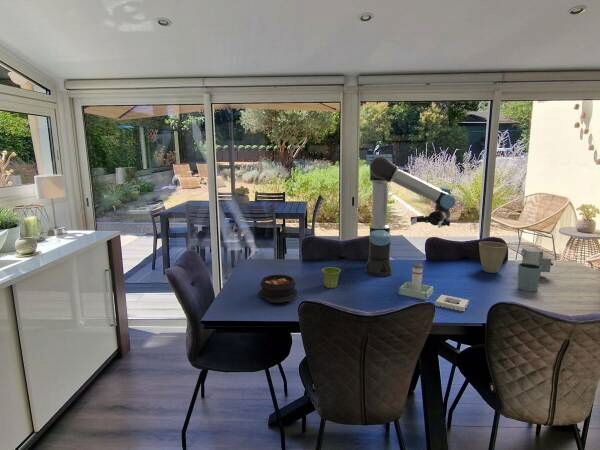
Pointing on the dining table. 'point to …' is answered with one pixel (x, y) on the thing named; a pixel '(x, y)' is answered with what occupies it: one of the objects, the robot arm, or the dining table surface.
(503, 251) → the plant pot
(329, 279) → the plant pot
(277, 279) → the casserole
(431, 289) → the parts tray
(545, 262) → the circuit breaker
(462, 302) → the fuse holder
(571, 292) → the dining table surface
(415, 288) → the fuse
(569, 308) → the dining table surface
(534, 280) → the teal cylinder
